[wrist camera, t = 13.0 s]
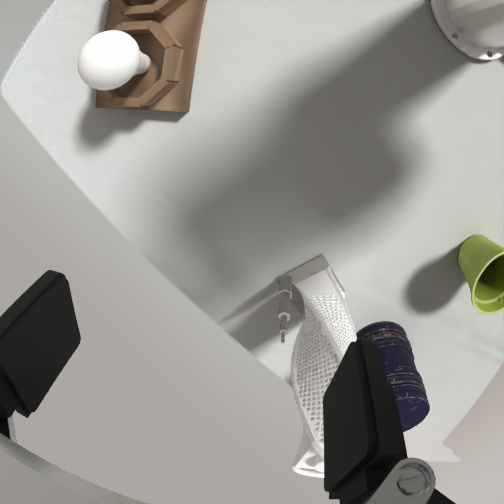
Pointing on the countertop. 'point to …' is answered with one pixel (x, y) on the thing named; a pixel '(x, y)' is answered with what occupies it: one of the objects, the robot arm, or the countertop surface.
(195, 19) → the socket board
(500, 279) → the plant pot
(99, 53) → the lightbulb
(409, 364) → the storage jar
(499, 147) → the countertop surface
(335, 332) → the skyscraper
